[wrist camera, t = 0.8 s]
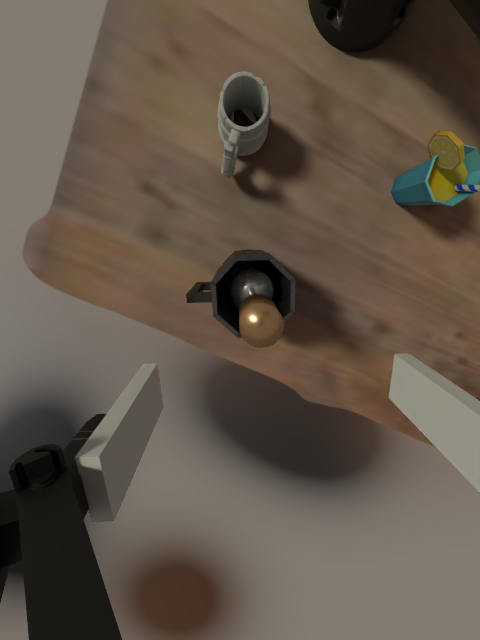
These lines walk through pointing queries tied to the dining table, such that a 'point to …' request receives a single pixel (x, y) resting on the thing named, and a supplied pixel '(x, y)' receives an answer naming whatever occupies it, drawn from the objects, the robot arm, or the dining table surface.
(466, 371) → the dining table surface
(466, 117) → the dining table surface
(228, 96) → the mug
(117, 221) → the dining table surface
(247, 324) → the plunger
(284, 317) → the press body
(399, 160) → the dining table surface
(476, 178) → the cup
